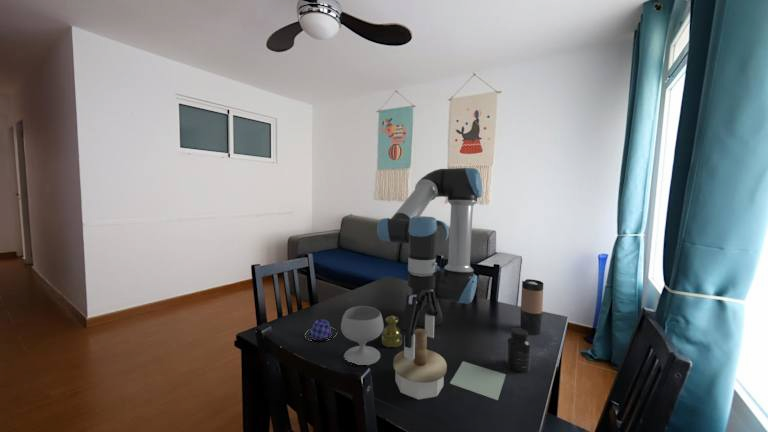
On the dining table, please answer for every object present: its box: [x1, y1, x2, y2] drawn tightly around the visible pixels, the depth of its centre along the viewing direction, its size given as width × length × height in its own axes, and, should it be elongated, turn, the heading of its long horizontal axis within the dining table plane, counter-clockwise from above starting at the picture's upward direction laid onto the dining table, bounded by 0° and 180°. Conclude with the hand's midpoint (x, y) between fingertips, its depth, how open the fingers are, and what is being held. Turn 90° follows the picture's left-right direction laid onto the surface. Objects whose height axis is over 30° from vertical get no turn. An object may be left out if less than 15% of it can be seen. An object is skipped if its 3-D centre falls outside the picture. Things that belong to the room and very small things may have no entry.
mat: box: [449, 361, 507, 401], centre depth 87 cm, size 13×13×1 cm
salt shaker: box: [381, 315, 403, 348], centre depth 107 cm, size 7×7×10 cm
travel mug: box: [519, 278, 544, 336], centre depth 117 cm, size 8×8×20 cm
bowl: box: [394, 370, 445, 400], centre depth 84 cm, size 13×13×6 cm
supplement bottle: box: [505, 327, 532, 374], centre depth 93 cm, size 7×7×12 cm
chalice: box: [340, 305, 385, 366], centre depth 98 cm, size 14×14×15 cm
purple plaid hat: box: [304, 318, 338, 342], centre depth 113 cm, size 12×12×5 cm
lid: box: [392, 328, 448, 383], centre depth 84 cm, size 15×15×10 cm
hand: (419, 346), depth 83 cm, fingers open, 13 cm apart
